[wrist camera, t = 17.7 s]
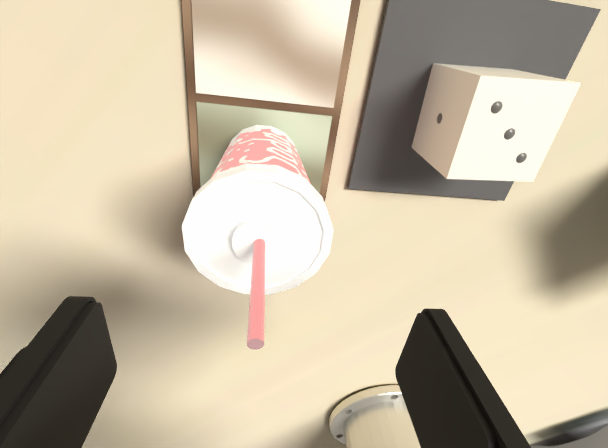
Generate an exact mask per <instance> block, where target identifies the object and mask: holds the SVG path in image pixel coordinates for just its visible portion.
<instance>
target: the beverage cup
mask: <svg viewBox="0 0 608 448" xmlns="http://www.w3.org/2000/svg"><path fill="white" fill-rule="evenodd" d="M333 231H334V230H333V226H332V223H331V220H330V217H329V213H328V210H327V207H326V204H325V202H324V200H323V197H322V196H321V195H320V194H319V193H318V192H317V190H316V189H315V188H314V187H313V186H312V185H311V183H310V181H309V178H308V176H307V174H306V171H305V169H304V166H303V164H302V162H301V159H300V157H299V154H298V152H297V150H296V147H295V145H294V143H293V142H292V141H291V139H290V138H289V137H288V136H287V135H286V134H285V133H284V132H282V131H280V130H278V129H276V128H274V127H272V126H264V125H255V126H252V127H249V128H246V129H243V130H242V131H240V132H239V133H238V134H237V135H236V136H235V137H234V138H233V139H232V140H231V142H230V144H229V146H228V148H227V149H226V151H225V153H224V155H223V157H222V159H221V160H220V162H219V164H218V166H217V168H216V170H215V172H214V173H213V175H212V177H211V179H210V180H209V181H208V182H207V183H205V184H204V185H203V186H202V187H201V188H200V189H199V190H198V191H197V192H196V193H195V196H194V197H193V198H192V201H191V203H190V206H189V208H188V211H187V213H186V216H185V218H184V221H183V224H182V233H183V241H184V249H185V252H186V253H187V255H188V256H189V258H190V259H191V261H192V263H193V264H194V266H195V267H196V269H197V270H198V272H200V273H201V274H202V275H204V276H205V277H207V278H208V279H210V280H211V281H212V282H214V283H215V284H217V285H218V286H219V287H223V288H226V289H229V290H232V291H236V292H239V293H242V294H250V306H249V321H248V336H247V346H248V347H249V348H250V349H260V348H262V347H263V345H264V305H265V294H274V293H277V292H281V291H284V290H288V289H291V288H294V287H297V286H298V285H300V284H301V283H302V282H304V281H305V280H307V279H308V278H310V277H311V276H313V275H314V274H316V273H317V271H318V270H319V268H320V267H321V265H322V264H323V262H324V261H325V259H326V258H327V257H328V255H329V254H330V249H331V243H332V237H333Z"/></svg>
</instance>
